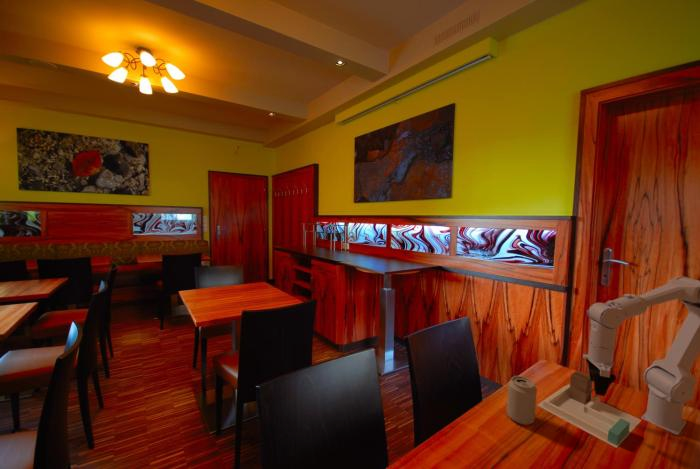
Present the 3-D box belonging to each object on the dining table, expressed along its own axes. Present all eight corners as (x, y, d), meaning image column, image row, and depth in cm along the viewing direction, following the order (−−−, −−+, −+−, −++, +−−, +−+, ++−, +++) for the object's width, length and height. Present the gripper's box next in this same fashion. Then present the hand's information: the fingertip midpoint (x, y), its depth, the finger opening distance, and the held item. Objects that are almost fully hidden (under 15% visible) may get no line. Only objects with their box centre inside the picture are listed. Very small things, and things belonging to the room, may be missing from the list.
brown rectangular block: (575, 392, 107) (577, 370, 106) (590, 399, 103) (592, 377, 102) (568, 397, 104) (571, 374, 103) (584, 404, 100) (586, 381, 100)
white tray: (565, 387, 111) (565, 377, 110) (641, 421, 94) (642, 410, 93) (536, 406, 100) (537, 396, 100) (616, 449, 83) (617, 437, 83)
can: (527, 410, 99) (530, 374, 97) (539, 427, 91) (542, 389, 90) (502, 408, 99) (505, 373, 98) (512, 425, 92) (515, 387, 90)
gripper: (581, 332, 100) (577, 372, 102) (589, 351, 88) (584, 396, 89) (609, 337, 97) (604, 378, 98) (621, 357, 84) (616, 404, 86)
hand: (597, 387), depth 93 cm, fingers open, 7 cm apart
